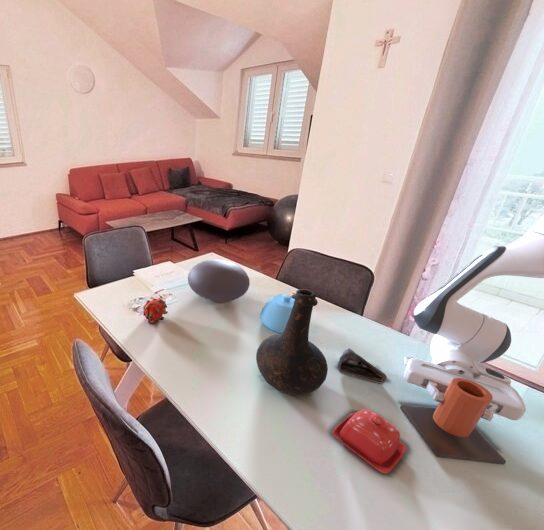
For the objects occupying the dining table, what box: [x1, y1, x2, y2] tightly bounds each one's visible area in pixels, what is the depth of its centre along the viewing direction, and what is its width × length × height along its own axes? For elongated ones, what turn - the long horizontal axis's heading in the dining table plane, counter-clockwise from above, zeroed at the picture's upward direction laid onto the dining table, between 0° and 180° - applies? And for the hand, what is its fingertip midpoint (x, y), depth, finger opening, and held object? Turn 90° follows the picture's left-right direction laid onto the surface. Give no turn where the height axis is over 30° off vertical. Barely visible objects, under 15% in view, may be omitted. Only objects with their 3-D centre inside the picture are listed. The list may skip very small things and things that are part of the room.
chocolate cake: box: [337, 347, 388, 385], centre depth 92 cm, size 10×7×12 cm
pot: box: [433, 378, 493, 437], centre depth 70 cm, size 6×6×11 cm
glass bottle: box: [255, 288, 329, 396], centre depth 82 cm, size 18×18×28 cm
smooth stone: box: [187, 259, 251, 303], centre depth 129 cm, size 25×25×15 cm
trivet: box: [399, 404, 507, 465], centre depth 73 cm, size 13×13×1 cm
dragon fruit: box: [142, 297, 169, 324], centre depth 115 cm, size 8×8×12 cm
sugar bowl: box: [259, 293, 295, 334], centre depth 111 cm, size 15×15×12 cm
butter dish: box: [332, 408, 407, 475], centre depth 69 cm, size 12×12×8 cm
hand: (462, 408), depth 69 cm, fingers closed on pot, 6 cm apart
